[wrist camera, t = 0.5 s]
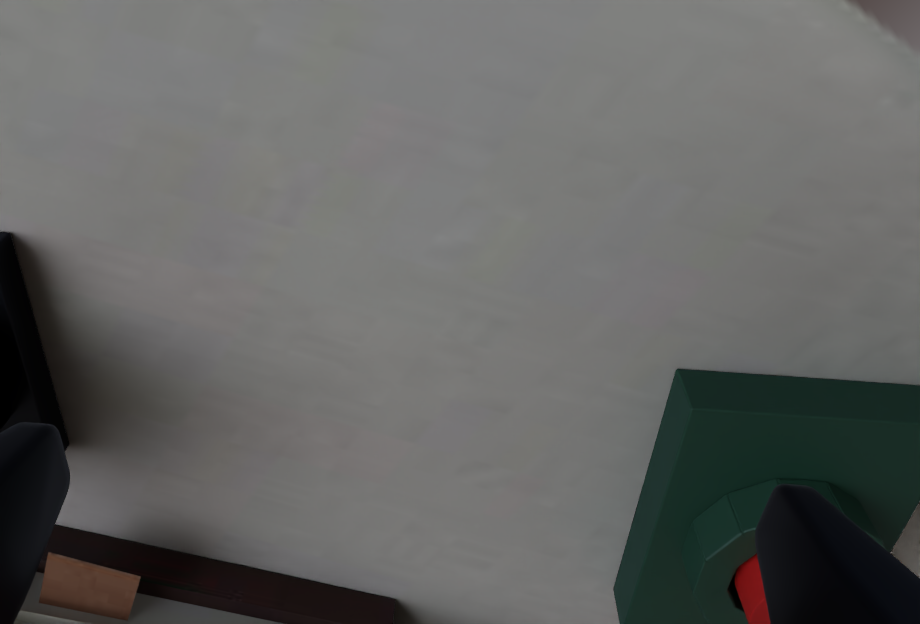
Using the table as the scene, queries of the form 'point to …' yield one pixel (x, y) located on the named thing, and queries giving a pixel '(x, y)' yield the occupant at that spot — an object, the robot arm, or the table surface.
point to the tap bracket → (22, 353)
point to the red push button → (752, 591)
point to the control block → (758, 481)
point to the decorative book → (177, 589)
